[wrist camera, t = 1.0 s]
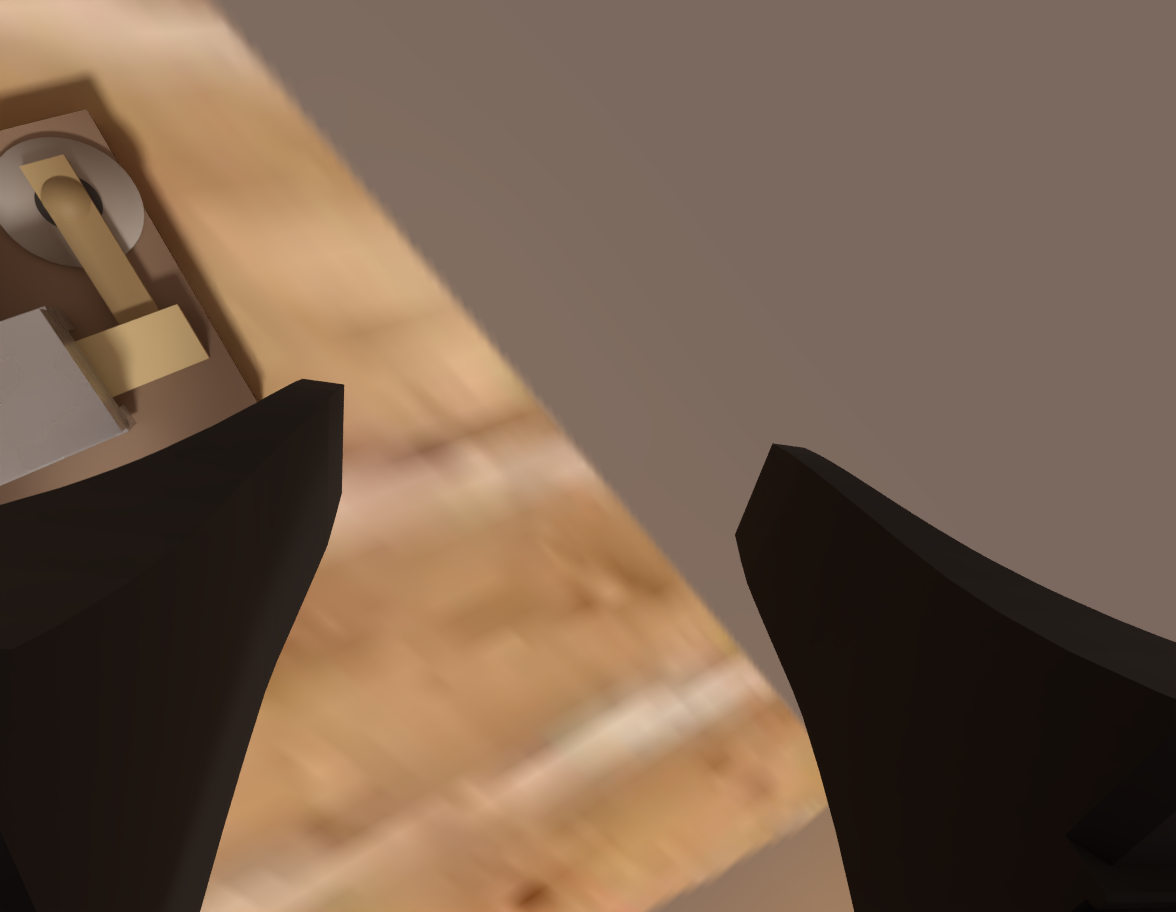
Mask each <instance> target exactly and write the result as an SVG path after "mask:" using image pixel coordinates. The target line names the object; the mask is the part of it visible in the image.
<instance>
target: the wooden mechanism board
mask: <svg viewBox="0 0 1176 912" xmlns="http://www.w3.org/2000/svg"><path fill="white" fill-rule="evenodd" d="M43 306H47V307H53V308H59V309H62V311H63V312H64V314H65V315H66V317H67V319H68V320H69V322H70V323H71V325H72V326H73V328H74V329H75V330H74V331H72V332H69V333H70V335H71V336H72V338H73V339H74V341H75V342H76V344H77V345H78V347H79V348H80V350H81V351H82V353H83V354H84V356H85V357H86V359H87V360H88V362H89V363H90V365H91V366H92V368H93V369H94V371H95V372H96V374H97V375H98V377H99V378H100V380H101V381H102V383H103V384H104V386H105V387H106V389H107V390H108V392H109V393H110V395H111V396H112V398H113V399H114V401H115V402H116V404H117V405H118V407H119V406H121V405H125V406H126V408H127V409H128V411H129V412H130V414H131V415H132V417H133V418H134V420H135V421H136V423H137V424H136V425H135V426H134V427H133V428H132V429H131V430H130V431H128V432H126V433H124V434H121V435H119V436H116V437H114V438H112V439H109V440H107V441H105V442H102V443H100V444H98V445H95V446H93V447H91V448H88V449H86V450H83V451H81V452H79V453H76V454H74V455H72V456H69V457H67V458H65V459H62V460H60V461H58V462H55V463H53V464H50V465H48V466H46V467H43V468H41V469H39V470H36V471H34V472H32V473H29V474H27V475H25V476H22V477H20V478H17V479H15V480H13V481H10V482H8V483H6V484H3V485H1V486H0V505H1V504H5V503H8V502H12V501H15V500H19V499H22V498H26V497H29V496H33V495H36V494H40V493H43V492H47V491H50V490H54V489H57V488H60V487H64V486H67V485H70V484H73V483H76V482H79V481H81V480H84V479H87V478H90V477H93V476H95V475H98V474H101V473H104V472H107V471H109V470H112V469H115V468H118V467H120V466H123V465H125V464H128V463H131V462H133V461H136V460H138V459H141V458H143V457H145V456H148V455H150V454H153V453H155V452H157V451H159V450H162V449H164V448H166V447H168V446H170V445H172V444H174V443H177V442H179V441H181V440H183V439H185V438H187V437H189V436H192V435H194V434H196V433H198V432H200V431H202V430H204V429H207V428H209V427H211V426H213V425H215V424H217V423H219V422H221V421H223V420H225V419H226V418H228V417H230V416H232V415H234V414H236V413H238V412H240V411H242V410H243V409H245V408H247V407H249V406H251V405H253V404H255V403H257V401H256V399H255V397H254V395H253V394H252V392H251V390H250V389H249V387H248V385H247V383H246V382H245V380H244V378H243V377H242V375H241V373H240V371H239V370H238V368H237V366H236V364H235V363H234V361H233V359H232V358H231V356H230V354H229V352H228V351H227V349H226V347H225V346H224V344H223V342H222V340H221V339H220V337H219V335H218V334H217V332H216V330H215V328H214V327H213V325H212V323H211V321H210V320H209V318H208V316H207V315H206V313H205V311H204V309H203V308H202V306H201V304H200V303H199V301H198V299H197V297H196V296H195V294H194V292H193V291H192V289H191V287H190V285H189V284H188V282H187V280H186V278H185V277H184V275H183V273H182V272H181V270H180V268H179V266H178V265H177V263H176V261H175V260H174V258H173V256H172V254H171V253H170V251H169V249H168V248H167V246H166V244H165V242H164V241H163V239H162V237H161V236H160V234H159V232H158V230H157V229H156V227H155V225H154V223H153V222H152V220H151V218H150V217H149V215H148V213H147V211H146V210H145V208H144V206H143V202H142V199H141V196H140V193H139V191H138V189H137V187H136V185H135V184H134V182H133V181H132V179H131V178H130V176H129V175H128V174H127V173H126V171H125V170H124V169H123V168H122V167H121V166H120V165H119V163H118V162H117V160H116V158H115V156H114V155H113V153H112V151H111V150H110V148H109V146H108V144H107V143H106V141H105V139H104V137H103V136H102V134H101V132H100V131H99V129H98V127H97V125H96V124H95V122H94V120H93V119H92V117H91V115H90V114H89V112H88V111H87V109H85V110H81V111H77V112H73V113H69V114H65V115H61V116H57V117H53V118H49V119H45V120H41V121H37V122H32V123H28V124H24V125H20V126H16V127H12V128H8V129H4V130H0V321H3V320H5V319H8V318H11V317H14V316H17V315H20V314H23V313H26V312H29V311H32V310H35V309H38V308H40V307H43Z"/></svg>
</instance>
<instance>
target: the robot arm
mask: <svg viewBox="0 0 1176 912" xmlns="http://www.w3.org/2000/svg"><path fill="white" fill-rule="evenodd" d="M343 413H344V385H343V384H336V383H329V382H322V381H314V380H307V379H301V380H299V381H296V382H294V383H292V384H290V385H288V386H286V387H284V388H282V389H280V390H279V391H277V392H275V393H273V394H271V395H269V396H268V397H266V398H264V399H262V400H260V401H258V402H257V403H255V404H253V405H251V406H249V407H247V408H245V409H243V410H242V411H240V412H238V413H236V414H234V415H232V416H230V417H228V418H226V419H225V420H223V421H221V422H219V423H217V424H215V425H213V426H211V427H209V428H207V429H204V430H202V431H200V432H198V433H196V434H194V435H192V436H189V437H187V438H185V439H183V440H181V441H179V442H177V443H174V444H172V445H170V446H168V447H166V448H164V449H162V450H159V451H157V452H155V453H153V454H150V455H148V456H145V457H143V458H141V459H138V460H136V461H133V462H131V463H128V464H125V465H123V466H120V467H118V468H115V469H112V470H109V471H107V472H104V473H101V474H98V475H95V476H93V477H90V478H87V479H84V480H81V481H79V482H76V483H73V484H70V485H67V486H64V487H60V488H57V489H54V490H50V491H47V492H43V493H40V494H36V495H33V496H29V497H26V498H22V499H19V500H15V501H12V502H8V503H5V504H1V505H0V912H200V910H201V906H202V903H203V899H204V896H205V892H206V889H207V885H208V882H209V878H210V874H211V871H212V867H213V864H214V860H215V857H216V853H217V849H218V846H219V842H220V839H221V835H222V832H223V828H224V825H225V821H226V818H227V815H228V811H229V808H230V805H231V801H232V798H233V795H234V791H235V788H236V784H237V781H238V778H239V774H240V771H241V768H242V764H243V761H244V758H245V754H246V751H247V748H248V745H249V742H250V738H251V735H252V732H253V729H254V726H255V722H256V719H257V716H258V713H259V710H260V706H261V703H262V700H263V697H264V694H265V691H266V688H267V686H268V683H269V680H270V678H271V675H272V672H273V670H274V667H275V665H276V662H277V660H278V658H279V655H280V653H281V651H282V648H283V646H284V644H285V642H286V639H287V637H288V635H289V633H290V630H291V628H292V626H293V623H294V621H295V619H296V617H297V614H298V612H299V610H300V607H301V605H302V603H303V601H304V598H305V596H306V594H307V592H308V589H309V587H310V585H311V582H312V580H313V578H314V575H315V573H316V571H317V568H318V566H319V564H320V561H321V559H322V557H323V554H324V552H325V550H326V547H327V545H328V541H329V538H330V534H331V531H332V527H333V524H334V520H335V517H336V513H337V509H338V505H339V502H340V498H341V494H342V459H343ZM735 537H736V541H737V545H738V550H739V554H740V558H741V563H742V566H743V570H744V573H745V577H746V580H747V584H748V586H749V589H750V591H751V594H752V596H753V599H754V601H755V604H756V606H757V608H758V611H759V613H760V616H761V618H762V620H763V623H764V625H765V627H766V629H767V632H768V634H769V637H770V639H771V641H772V643H773V646H774V648H775V650H776V653H777V655H778V657H779V660H780V662H781V664H782V667H783V669H784V671H785V673H786V676H787V678H788V680H789V683H790V685H791V688H792V690H793V692H794V695H795V698H796V700H797V703H798V705H799V708H800V710H801V713H802V716H803V719H804V722H805V726H806V729H807V732H808V735H809V739H810V742H811V745H812V748H813V752H814V755H815V758H816V761H817V765H818V768H819V771H820V775H821V779H822V782H823V786H824V790H825V793H826V797H827V801H828V805H829V808H830V812H831V816H832V819H833V823H834V827H835V830H836V834H837V839H838V843H839V847H840V852H841V856H842V860H843V865H844V869H845V873H846V877H847V882H848V886H849V890H850V895H851V899H852V904H853V908H854V912H1176V642H1173V641H1171V640H1168V639H1165V638H1162V637H1160V636H1157V635H1155V634H1152V633H1150V632H1147V631H1144V630H1142V629H1140V628H1137V627H1135V626H1132V625H1129V624H1127V623H1124V622H1122V621H1119V620H1117V619H1115V618H1112V617H1110V616H1108V615H1105V614H1103V613H1101V612H1099V611H1096V610H1094V609H1091V608H1090V607H1087V606H1085V605H1083V604H1080V603H1078V602H1076V601H1074V600H1071V599H1069V598H1067V597H1064V596H1062V595H1060V594H1058V593H1056V592H1054V591H1051V590H1050V589H1047V588H1045V587H1043V586H1041V585H1039V584H1037V583H1035V582H1033V581H1031V580H1029V579H1027V578H1025V577H1023V576H1021V575H1019V574H1017V573H1015V572H1013V571H1012V570H1010V569H1008V568H1006V567H1003V566H1002V565H1000V564H998V563H996V562H994V561H992V560H990V559H988V558H987V557H985V556H983V555H981V554H979V553H978V552H976V551H974V550H972V549H970V548H969V547H967V546H965V545H964V544H962V543H960V542H958V541H957V540H955V539H953V538H952V537H950V536H948V535H947V534H945V533H943V532H942V531H940V530H938V529H937V528H935V527H933V526H932V525H930V524H928V523H927V522H925V521H924V520H922V519H920V518H919V517H917V516H916V515H914V514H912V513H911V512H909V511H908V510H906V509H904V508H903V507H901V506H900V505H898V504H897V503H895V502H894V501H892V500H890V499H889V498H887V497H886V496H884V495H883V494H881V493H880V492H878V491H877V490H875V489H874V488H872V487H870V486H869V485H867V484H866V483H864V482H863V481H861V480H860V479H858V478H857V477H855V476H853V475H852V474H850V473H849V472H847V471H845V470H844V469H842V468H841V467H839V466H837V465H836V464H834V463H832V462H831V461H829V460H827V459H826V458H824V457H822V456H820V455H818V454H816V453H814V452H812V451H810V450H808V449H806V448H802V447H794V446H787V445H780V444H772V446H771V449H770V451H769V453H768V456H767V458H766V461H765V463H764V466H763V468H762V470H761V473H760V475H759V478H758V480H757V483H756V485H755V488H754V490H753V493H752V495H751V497H750V500H749V502H748V505H747V507H746V509H745V512H744V514H743V517H742V519H741V522H740V524H739V526H738V529H737V531H736V534H735Z"/></svg>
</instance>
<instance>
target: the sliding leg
mask: <svg viewBox="0 0 1176 912" xmlns="http://www.w3.org/2000/svg"><path fill="white" fill-rule="evenodd" d="M74 330H75V329H74V328H73V326H72V325H71V323H70V322H69V320H68V319H67V317H66V315H65V314H64V312H63V311H62V309H59V308H53V307H47V306H43V307H40V308H38V309H35V310H32V311H29V312H26V313H23V314H20V315H17V316H14V317H11V318H8V319H5V320H3V321H0V486H1V485H3V484H6V483H8V482H10V481H13V480H15V479H17V478H20V477H22V476H25V475H27V474H29V473H32V472H34V471H36V470H39V469H41V468H43V467H46V466H48V465H50V464H53V463H55V462H58V461H60V460H62V459H65V458H67V457H69V456H72V455H74V454H76V453H79V452H81V451H83V450H86V449H88V448H91V447H93V446H95V445H98V444H100V443H102V442H105V441H107V440H109V439H112V438H114V437H116V436H119V435H121V434H124V433H126V432H128V431H130V430H131V429H132V428H133V427H134V426H135V425H136V424H137V423H136V421H135V420H134V418H133V417H132V415H131V414H130V412H129V411H128V409H127V408H126V406H125V405H121V406H119V407H118V405H117V404H116V402H115V401H114V399H113V398H112V396H111V395H110V393H109V392H108V390H107V389H106V387H105V386H104V384H103V383H102V381H101V380H100V378H99V377H98V375H97V374H96V372H95V371H94V369H93V368H92V366H91V365H90V363H89V362H88V360H87V359H86V357H85V356H84V354H83V353H82V351H81V350H80V348H79V347H78V345H77V344H76V342H75V341H74V339H73V338H72V336H71V335H70V333H69V332H72V331H74Z"/></svg>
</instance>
